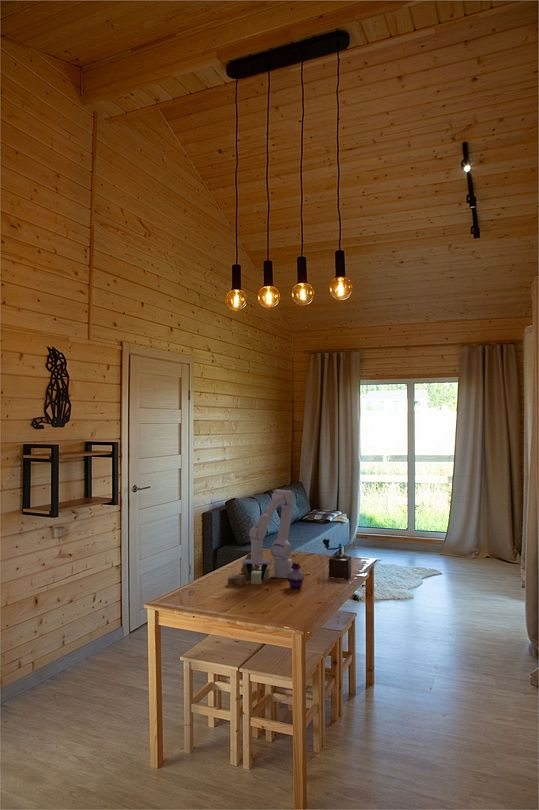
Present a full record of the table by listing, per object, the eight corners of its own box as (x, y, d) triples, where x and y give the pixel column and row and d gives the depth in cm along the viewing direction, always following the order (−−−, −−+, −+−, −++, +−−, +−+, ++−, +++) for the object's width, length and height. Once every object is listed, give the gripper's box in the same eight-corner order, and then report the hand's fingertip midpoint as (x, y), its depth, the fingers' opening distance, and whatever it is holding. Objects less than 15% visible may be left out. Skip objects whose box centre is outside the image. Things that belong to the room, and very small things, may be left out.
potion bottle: (286, 585, 261) (286, 560, 262) (304, 585, 261) (304, 560, 262) (287, 590, 252) (287, 564, 253) (305, 590, 252) (305, 564, 253)
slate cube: (269, 576, 276) (269, 567, 277) (267, 579, 271) (267, 569, 272) (259, 576, 277) (259, 566, 277) (258, 579, 272) (258, 569, 272)
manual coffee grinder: (352, 574, 282) (352, 539, 283) (348, 579, 272) (348, 543, 273) (323, 571, 287) (323, 537, 288) (318, 576, 277) (318, 541, 278)
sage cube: (262, 581, 268) (262, 571, 268) (261, 584, 263) (261, 573, 263) (252, 580, 269) (252, 570, 269) (250, 583, 264) (251, 573, 264)
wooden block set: (252, 584, 271) (260, 565, 271) (237, 576, 272) (245, 558, 272) (257, 573, 289) (264, 556, 289) (242, 566, 290) (250, 549, 290)
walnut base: (245, 583, 265) (245, 575, 265) (241, 587, 258) (241, 579, 258) (232, 582, 266) (232, 574, 267) (227, 586, 260) (227, 578, 260)
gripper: (241, 552, 264) (240, 581, 263) (270, 554, 261) (270, 582, 261) (243, 549, 271) (243, 577, 270) (272, 550, 268) (272, 578, 268)
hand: (256, 579), depth 266 cm, fingers closed on sage cube, 5 cm apart
